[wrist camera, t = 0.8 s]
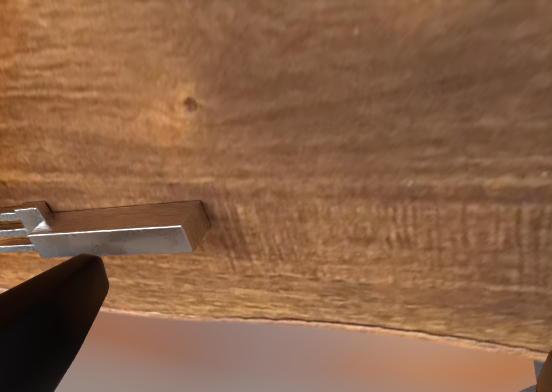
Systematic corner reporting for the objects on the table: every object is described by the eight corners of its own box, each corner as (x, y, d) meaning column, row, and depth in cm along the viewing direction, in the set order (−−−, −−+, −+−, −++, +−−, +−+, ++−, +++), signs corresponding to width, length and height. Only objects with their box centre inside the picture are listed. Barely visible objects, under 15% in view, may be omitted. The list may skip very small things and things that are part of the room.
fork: (194, 186, 27) (174, 211, 25) (216, 238, 29) (199, 265, 27) (-21, 207, 34) (-49, 228, 32) (7, 248, 36) (-18, 271, 34)
